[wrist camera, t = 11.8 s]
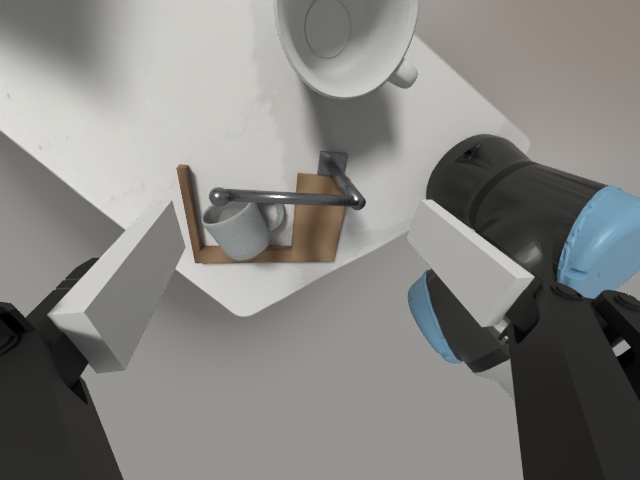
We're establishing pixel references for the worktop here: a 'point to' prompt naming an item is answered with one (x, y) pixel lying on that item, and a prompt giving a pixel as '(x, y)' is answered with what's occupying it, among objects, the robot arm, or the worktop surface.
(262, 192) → the bent metal bar
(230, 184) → the worktop surface
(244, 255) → the ceramic mug
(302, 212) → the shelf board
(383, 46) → the teacup
